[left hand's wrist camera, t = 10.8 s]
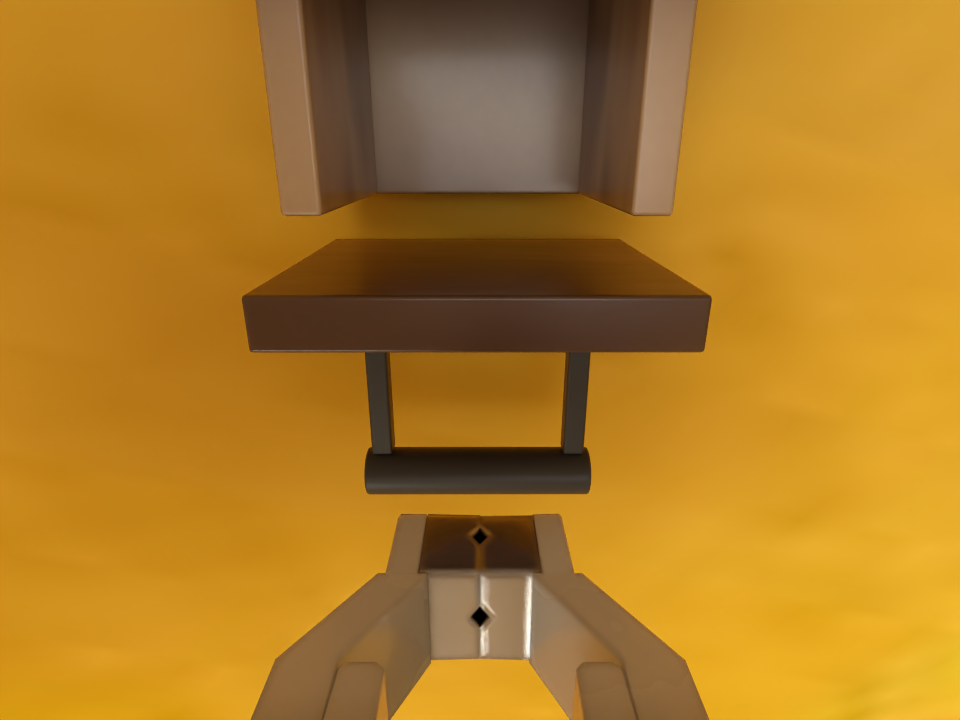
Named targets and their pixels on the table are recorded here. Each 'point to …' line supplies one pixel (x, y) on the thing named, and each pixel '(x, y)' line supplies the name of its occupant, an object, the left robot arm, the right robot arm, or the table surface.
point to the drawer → (476, 170)
